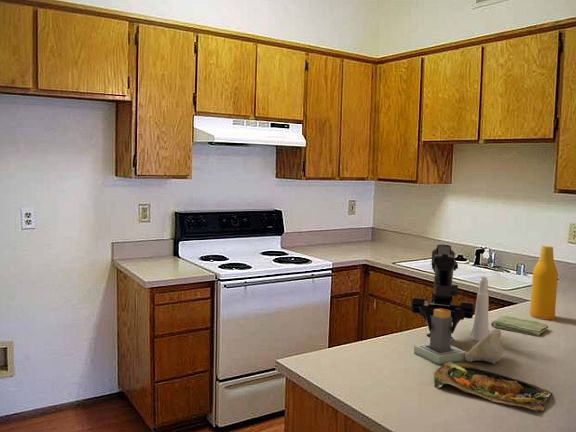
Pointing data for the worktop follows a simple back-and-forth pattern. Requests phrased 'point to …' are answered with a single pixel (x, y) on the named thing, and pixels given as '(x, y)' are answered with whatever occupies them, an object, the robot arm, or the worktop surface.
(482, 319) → the cosmetic bottle
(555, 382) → the worktop surface
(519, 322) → the washcloth
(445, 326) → the plug
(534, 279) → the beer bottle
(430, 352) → the box
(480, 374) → the prepared meal
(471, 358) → the cheese
